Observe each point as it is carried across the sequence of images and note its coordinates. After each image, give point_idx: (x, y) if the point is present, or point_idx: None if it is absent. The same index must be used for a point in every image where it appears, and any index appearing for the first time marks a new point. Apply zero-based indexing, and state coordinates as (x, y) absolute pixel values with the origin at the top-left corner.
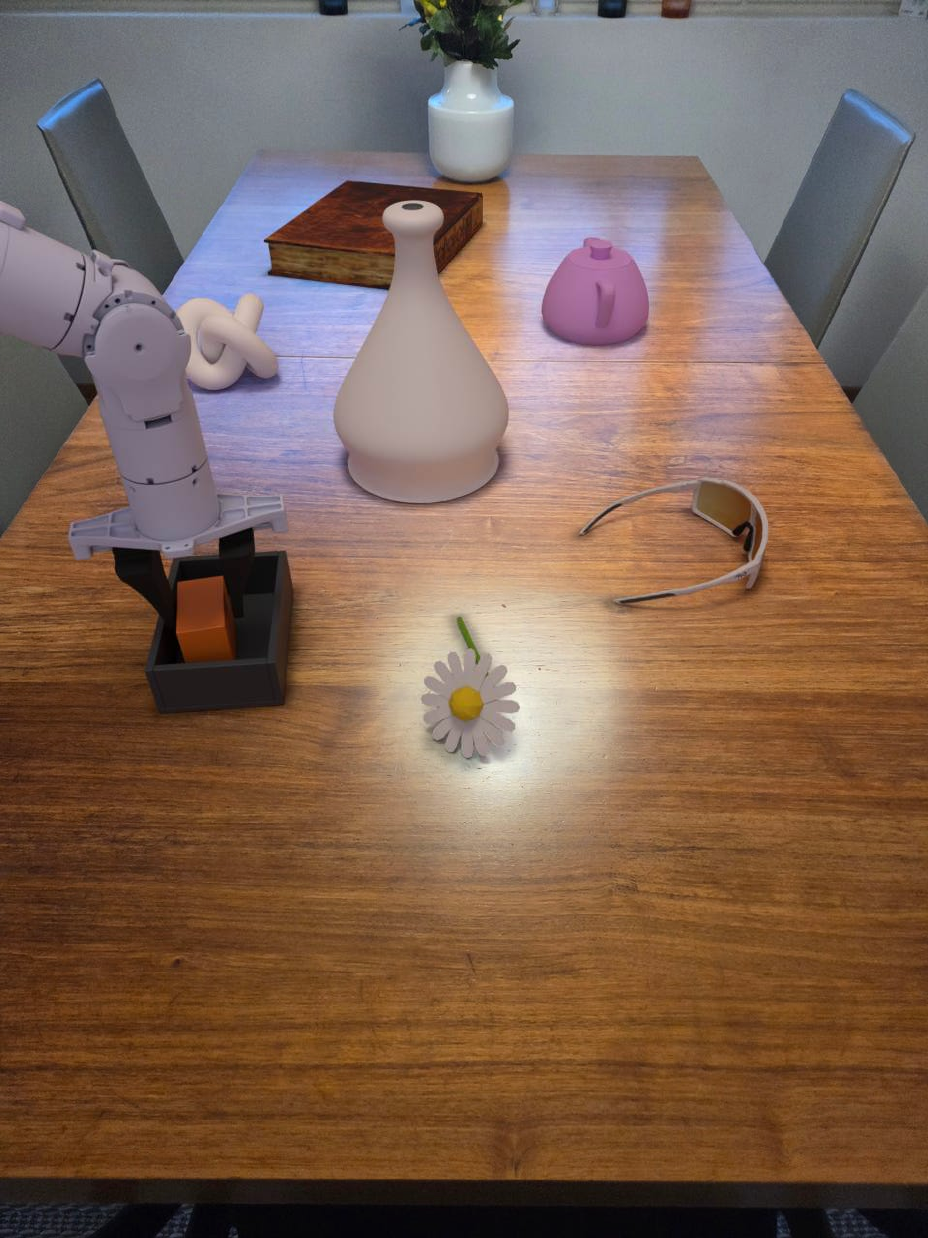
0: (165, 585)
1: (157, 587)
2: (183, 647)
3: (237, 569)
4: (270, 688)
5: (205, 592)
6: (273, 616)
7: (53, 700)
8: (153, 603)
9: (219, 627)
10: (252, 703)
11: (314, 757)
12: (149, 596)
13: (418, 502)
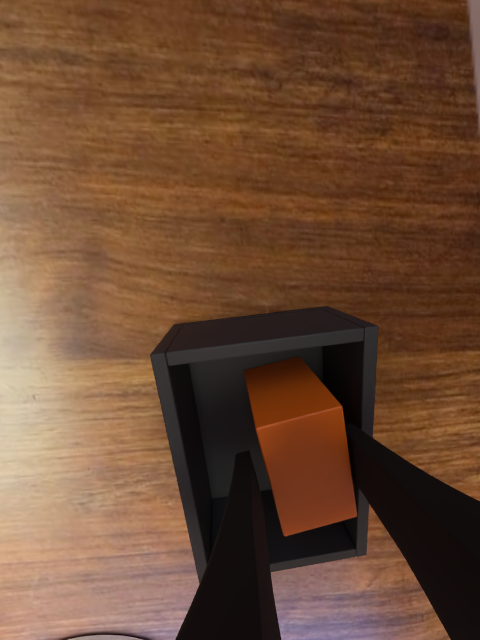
0: (393, 518)
1: (443, 526)
2: (320, 386)
3: (212, 637)
4: (179, 332)
5: (306, 500)
6: (182, 458)
7: (451, 324)
8: (413, 469)
9: (265, 424)
10: (212, 321)
11: (107, 233)
12: (440, 490)
13: (87, 636)
